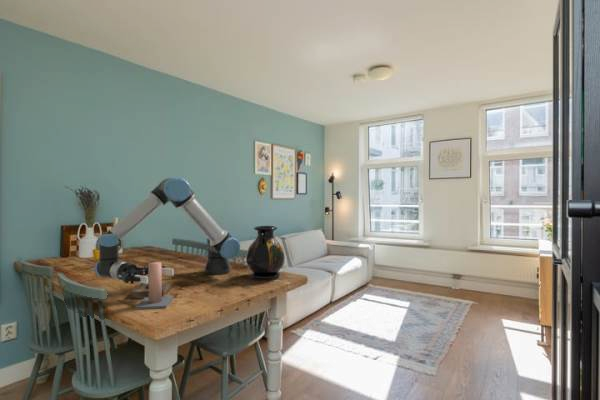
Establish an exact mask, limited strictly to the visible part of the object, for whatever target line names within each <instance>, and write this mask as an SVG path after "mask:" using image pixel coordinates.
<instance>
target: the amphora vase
mask: <svg viewBox="0 0 600 400" xmlns="http://www.w3.org/2000/svg"><path fill="white" fill-rule="evenodd" d="M253 230H255V231H256V232H257V236H256V238H255V239H254V240H253V242H252V243H251V244H250V245H249V247H248V248H247V252H246V257H245V263H246V266H247V267H248V269H249V270H250V271H251V273H250V277H251V279H254V280H259V281H270V280H276V279H278V278H280V276H281V273H280V271H281V269H282V268H283V267H284V264H285V261H286V260H285V259H286V256H285V251H284V249H283V247H282V244H281V243H280V242H279V241H278V240H277V239H276V238H275V236H274V235H275V234H274V232H275V231H276V230H278V227H277V226H274V225H258V226H254V227H253Z"/></svg>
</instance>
